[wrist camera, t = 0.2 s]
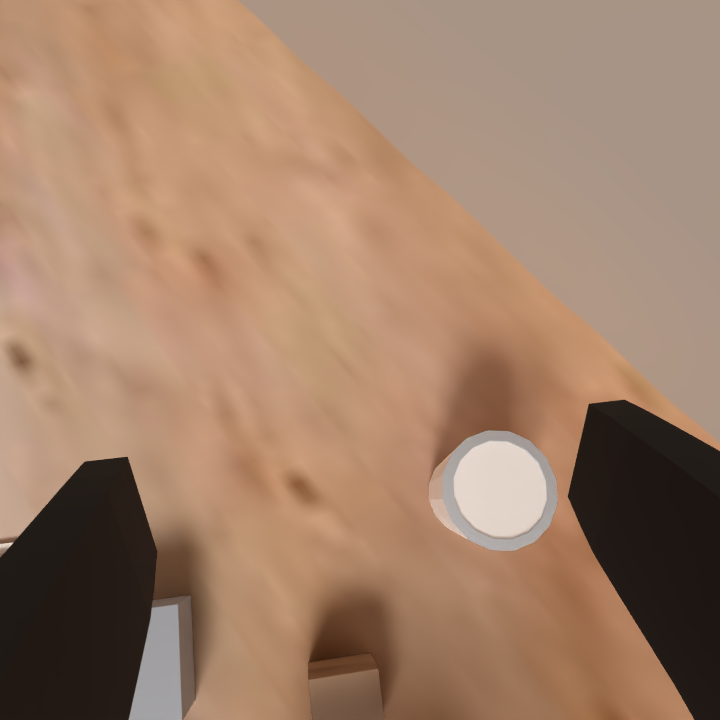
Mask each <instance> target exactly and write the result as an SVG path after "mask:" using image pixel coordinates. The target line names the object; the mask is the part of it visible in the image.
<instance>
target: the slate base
mask: <svg viewBox="0 0 720 720" xmlns="http://www.w3.org/2000/svg"><path fill="white" fill-rule="evenodd" d="M194 701H195V679H194V655H193V630H192V606H191V595H187V596H179V597H172V598H165V599H157V600H153V602H152V611H151V619H150V624H149V629H148V633H147V638H146V643H145V648H144V652H143V657H142V662H141V666H140V671H139V676H138V680H137V685H136V689H135V694H134V698H133V703H132V707H131V712H130V716H129V720H183V719H184V717H185V716H186V714H187V712H188V711H189V709H190V707H191V706H192V704H193V702H194Z"/></svg>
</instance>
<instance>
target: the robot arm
mask: <svg viewBox="0 0 720 720" xmlns="http://www.w3.org/2000/svg"><path fill="white" fill-rule="evenodd" d="M568 498H569V500H570V503H571V505H572V507H573V509H574V512H575V514H576V516H577V519H578V521H579V523H580V526H581V528H582V530H583V532H584V534H585V536H586V538H587V541H588V543H589V545H590V547H591V549H592V551H593V553H594V555H595V557H596V558H597V560H598V562H599V563H600V565H601V567H602V568H603V570H604V572H605V573H606V575H607V576H608V578H609V580H610V581H611V583H612V585H613V586H614V588H615V590H616V591H617V593H618V595H619V596H620V598H621V599H622V601H623V603H624V604H625V606H626V607H627V609H628V611H629V612H630V614H631V616H632V617H633V619H634V620H635V622H636V624H637V625H638V627H639V628H640V630H641V632H642V633H643V635H644V636H645V638H646V640H647V641H648V643H649V644H650V646H651V648H652V649H653V651H654V653H655V654H656V656H657V657H658V659H659V661H660V662H661V664H662V665H663V667H664V669H665V670H666V672H667V673H668V675H669V677H670V678H671V680H672V681H673V683H674V685H675V686H676V688H677V690H678V692H679V693H680V695H681V697H682V699H683V700H684V702H685V704H686V706H687V707H688V709H689V711H690V713H691V714H692V716H693V718H694V720H720V451H719V450H717V449H715V448H713V447H711V446H710V445H708V444H706V443H704V442H703V441H701V440H699V439H697V438H695V437H694V436H692V435H690V434H688V433H687V432H685V431H683V430H681V429H679V428H678V427H676V426H674V425H672V424H670V423H668V422H667V421H665V420H663V419H661V418H659V417H658V416H656V415H654V414H652V413H650V412H648V411H646V410H644V409H642V408H640V407H638V406H636V405H634V404H632V403H630V402H628V401H626V400H618V401H610V402H601V403H592V404H589V406H588V410H587V415H586V419H585V423H584V428H583V432H582V437H581V441H580V445H579V450H578V454H577V458H576V463H575V467H574V472H573V476H572V480H571V485H570V489H569V494H568ZM156 558H157V549H156V546H155V543H154V540H153V537H152V533H151V530H150V527H149V524H148V521H147V517H146V514H145V511H144V508H143V505H142V501H141V498H140V495H139V492H138V489H137V485H136V482H135V479H134V476H133V473H132V469H131V466H130V463H129V460H128V457H121V458H113V459H104V460H95V461H87V462H84V463H83V464H82V465H81V466H80V467H79V469H78V470H77V471H76V472H75V473H74V474H73V475H72V476H71V477H70V479H69V480H68V481H67V482H66V483H65V484H64V485H63V486H62V488H61V489H60V490H59V491H58V492H57V493H56V494H55V496H54V497H53V498H52V499H51V500H50V501H49V503H48V504H47V505H46V506H45V507H44V508H43V509H42V511H41V512H40V513H39V514H38V515H37V516H36V518H35V519H34V520H33V521H32V522H31V523H30V524H29V526H28V527H27V528H26V529H25V530H24V531H23V532H22V534H21V535H20V536H19V537H18V538H17V539H16V540H15V542H14V543H13V544H12V545H11V546H10V547H9V548H8V549H7V550H6V551H5V553H4V554H3V555H2V556H1V557H0V720H129V716H130V712H131V707H132V703H133V698H134V694H135V689H136V685H137V680H138V676H139V671H140V666H141V662H142V657H143V652H144V648H145V643H146V638H147V633H148V629H149V624H150V619H151V611H152V602H153V592H154V582H155V570H156Z"/></svg>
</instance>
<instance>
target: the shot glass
mask: <svg viewBox="0 0 720 720" xmlns="http://www.w3.org/2000/svg"><path fill="white" fill-rule="evenodd" d="M429 501H430V504H431V506H432V509H433V512H434V514H435V516H436V517H437V518H438V519H439V520H440V521H441V522H442V523H443V525H444V526H445V527H446V528H448V529H450V530H452V531H453V532H455V533H457V534H459V535H461V536H462V537H464V538H466V539H468V540H470V541H472V542H474V543H476V544H478V545H481V546H483V547H485V548H487V549H489V550H502V551H515V550H517V549H519V548H522V547H524V546H526V545H529V544H531V543H533V542H535V541H536V540H537V539H538V538H539V537H540V536H541V535H542V534H543V532H544V531H545V530H546V529H547V528H548V527H549V526H550V524H551V521H552V518H553V515H554V512H555V509H556V506H557V503H558V501H557V484H556V478H555V475H554V473H553V471H552V469H551V466H550V464H549V462H548V460H547V458H546V457H545V455H544V454H543V453H542V452H541V451H540V450H539V449H538V448H537V447H536V446H535V445H534V444H533V443H532V442H531V441H529V440H527V439H525V438H523V437H521V436H519V435H516V434H514V433H512V432H510V431H491V430H487V431H484V432H482V433H479V434H476V435H474V436H471V437H469V438H467V439H465V440H464V441H463V442H462V443H461V444H460V445H459V446H458V447H457V448H456V449H455V450H454V451H453V452H452V453H451V454H449V455H448V456H447V457H446V458H445V459H444V460H443V461H442V462H441V463H440V464H439V465H438V466H437V467H436V468H435V470H434V472H433V475H432V477H431V480H430V482H429Z"/></svg>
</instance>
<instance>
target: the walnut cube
mask: <svg viewBox="0 0 720 720" xmlns="http://www.w3.org/2000/svg"><path fill="white" fill-rule="evenodd" d="M308 682H309V692H310V703H311V714H312V720H384V712H383V704H382V696H381V688H380V679H379V671H378V667H377V665H376V663H375V660H374V658H373V656H372V653H365V654H359V655H353V656H346V657H340V658H334V659H328V660H321V661H315V662H309V663H308Z"/></svg>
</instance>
